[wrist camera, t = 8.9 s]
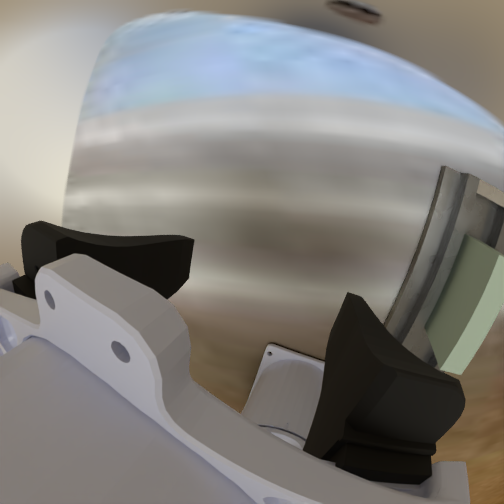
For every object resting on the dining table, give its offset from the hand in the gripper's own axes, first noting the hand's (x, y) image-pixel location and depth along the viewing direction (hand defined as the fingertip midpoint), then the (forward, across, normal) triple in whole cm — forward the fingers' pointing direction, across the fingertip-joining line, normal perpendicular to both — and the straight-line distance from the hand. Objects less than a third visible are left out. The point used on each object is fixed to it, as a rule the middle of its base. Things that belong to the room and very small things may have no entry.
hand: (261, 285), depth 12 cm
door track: (+10, -13, +2) cm, 17 cm away
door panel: (+9, -13, 0) cm, 16 cm away
